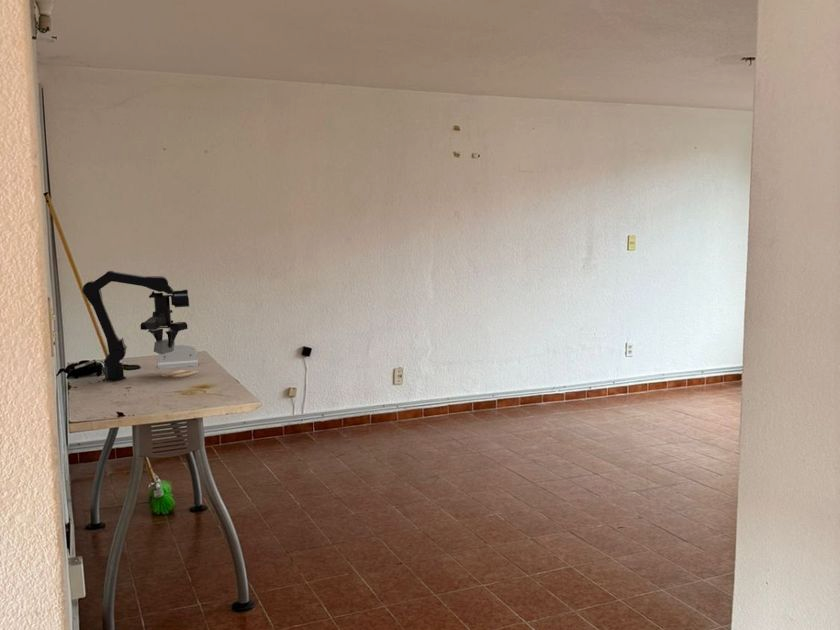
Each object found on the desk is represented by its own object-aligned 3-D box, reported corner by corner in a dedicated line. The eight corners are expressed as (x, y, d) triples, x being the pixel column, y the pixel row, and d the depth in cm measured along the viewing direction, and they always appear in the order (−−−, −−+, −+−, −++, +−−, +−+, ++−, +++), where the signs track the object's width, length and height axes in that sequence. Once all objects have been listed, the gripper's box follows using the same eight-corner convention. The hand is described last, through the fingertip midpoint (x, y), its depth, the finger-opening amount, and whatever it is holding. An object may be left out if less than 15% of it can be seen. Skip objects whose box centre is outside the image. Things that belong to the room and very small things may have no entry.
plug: (161, 354, 311) (153, 351, 313) (177, 350, 320) (169, 347, 321) (163, 344, 311) (154, 341, 312) (178, 340, 319) (170, 337, 320)
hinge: (157, 369, 330) (155, 345, 332) (157, 370, 334) (156, 347, 336) (199, 366, 334) (197, 342, 336) (198, 367, 339) (197, 344, 341)
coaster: (162, 376, 315) (162, 374, 315) (178, 371, 324) (178, 369, 324) (183, 377, 312) (183, 376, 311) (199, 372, 321) (198, 371, 321)
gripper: (129, 310, 309) (132, 350, 311) (168, 311, 302) (171, 352, 305) (148, 306, 319) (151, 345, 322) (187, 307, 313) (189, 346, 315)
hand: (165, 347), depth 315 cm, fingers closed on plug, 4 cm apart
